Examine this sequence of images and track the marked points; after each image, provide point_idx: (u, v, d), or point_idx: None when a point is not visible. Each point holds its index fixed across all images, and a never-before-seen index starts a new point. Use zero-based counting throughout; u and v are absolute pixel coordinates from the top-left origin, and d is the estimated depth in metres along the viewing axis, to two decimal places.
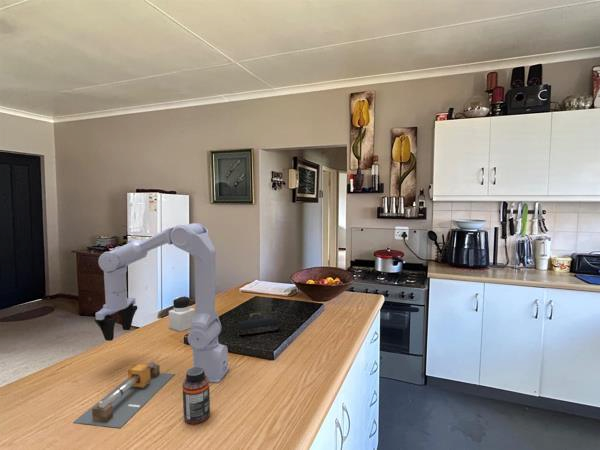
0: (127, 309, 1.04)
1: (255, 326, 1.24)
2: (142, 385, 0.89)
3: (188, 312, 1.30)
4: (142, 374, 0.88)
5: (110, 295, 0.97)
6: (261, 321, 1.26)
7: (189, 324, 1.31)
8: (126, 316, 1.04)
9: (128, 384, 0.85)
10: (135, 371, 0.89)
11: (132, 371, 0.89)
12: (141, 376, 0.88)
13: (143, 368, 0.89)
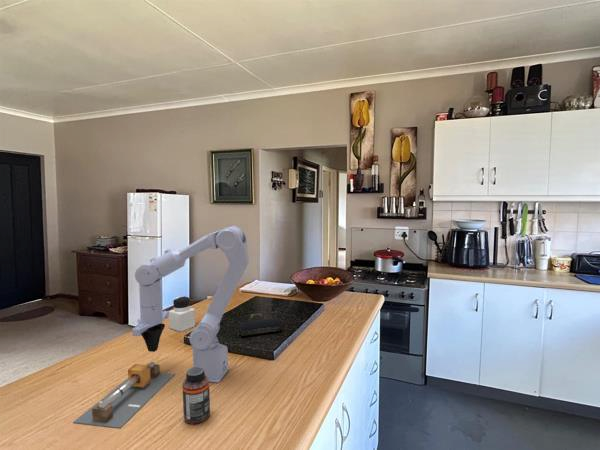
0: None
1: (256, 327, 1.23)
2: (142, 385, 0.89)
3: (188, 312, 1.30)
4: (142, 374, 0.88)
5: (146, 310, 0.92)
6: (262, 322, 1.25)
7: (189, 324, 1.31)
8: None
9: (128, 384, 0.85)
10: (135, 371, 0.89)
11: (132, 371, 0.89)
12: (141, 376, 0.88)
13: (143, 368, 0.89)
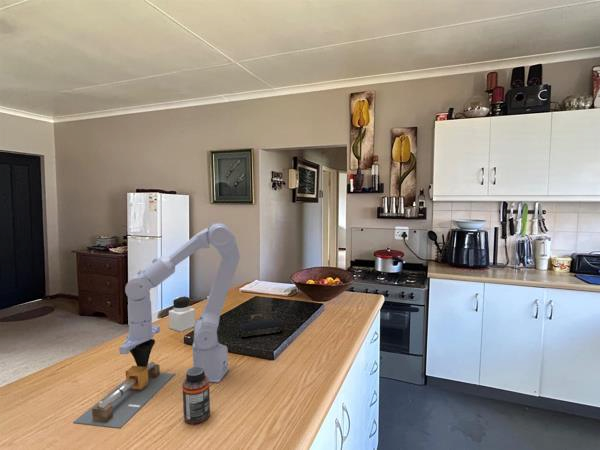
0: None
1: (257, 328, 1.23)
2: (140, 387, 0.88)
3: (188, 312, 1.30)
4: (140, 376, 0.87)
5: (134, 325, 0.88)
6: (263, 323, 1.24)
7: (189, 324, 1.31)
8: None
9: (128, 384, 0.85)
10: (132, 372, 0.88)
11: (130, 373, 0.88)
12: (139, 378, 0.87)
13: (141, 370, 0.88)
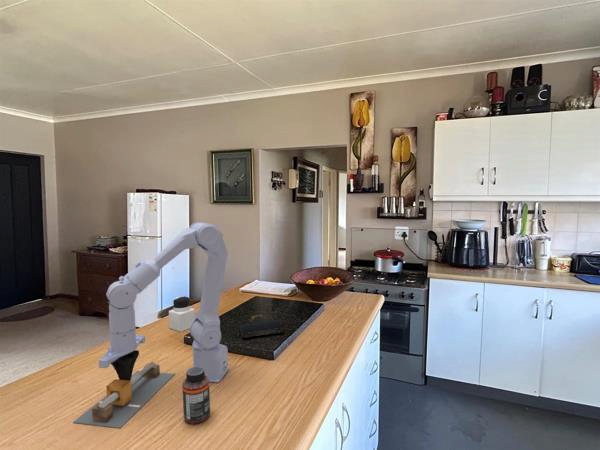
0: None
1: (258, 329, 1.22)
2: (122, 403, 0.81)
3: (188, 312, 1.30)
4: (122, 391, 0.81)
5: (116, 336, 0.81)
6: (264, 324, 1.24)
7: (189, 324, 1.31)
8: None
9: None
10: (114, 387, 0.81)
11: (111, 388, 0.81)
12: (121, 393, 0.81)
13: (123, 384, 0.82)
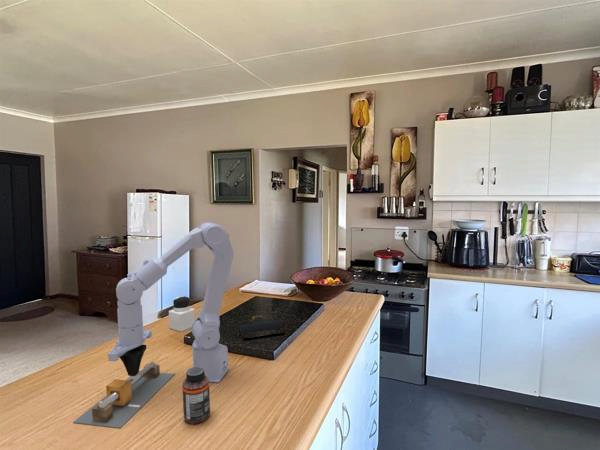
0: None
1: (258, 329, 1.21)
2: (122, 403, 0.81)
3: (188, 312, 1.30)
4: (122, 391, 0.81)
5: (124, 331, 0.84)
6: (264, 324, 1.23)
7: (189, 324, 1.31)
8: None
9: None
10: (114, 387, 0.81)
11: (111, 388, 0.81)
12: (121, 393, 0.81)
13: (123, 384, 0.82)
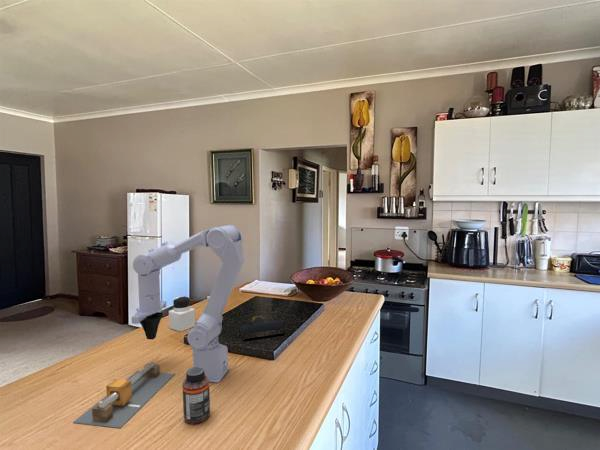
0: None
1: (259, 330, 1.21)
2: (122, 403, 0.81)
3: (188, 312, 1.30)
4: (122, 391, 0.81)
5: (145, 298, 0.95)
6: (265, 325, 1.23)
7: (189, 324, 1.31)
8: None
9: None
10: (114, 387, 0.81)
11: (111, 388, 0.81)
12: (121, 393, 0.81)
13: (123, 384, 0.82)
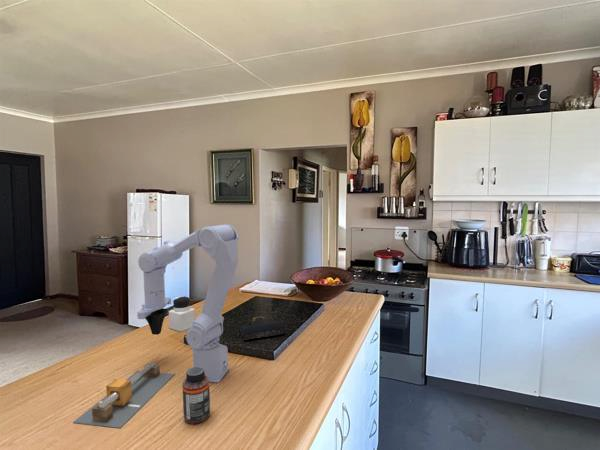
0: None
1: (259, 330, 1.20)
2: (122, 403, 0.81)
3: (188, 312, 1.30)
4: (122, 391, 0.81)
5: (150, 295, 0.99)
6: (265, 325, 1.22)
7: (189, 324, 1.31)
8: None
9: None
10: (114, 387, 0.81)
11: (111, 388, 0.81)
12: (121, 393, 0.81)
13: (123, 384, 0.82)
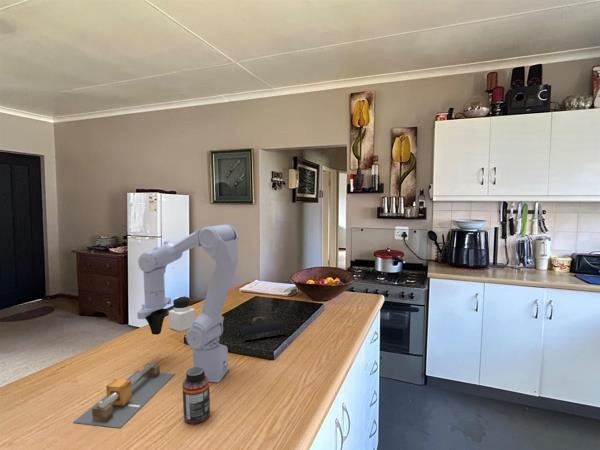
0: None
1: (259, 331, 1.20)
2: (122, 403, 0.81)
3: (188, 312, 1.30)
4: (122, 391, 0.81)
5: (150, 295, 0.99)
6: (265, 325, 1.22)
7: (189, 324, 1.31)
8: None
9: None
10: (114, 387, 0.81)
11: (111, 388, 0.81)
12: (121, 393, 0.81)
13: (123, 384, 0.82)
